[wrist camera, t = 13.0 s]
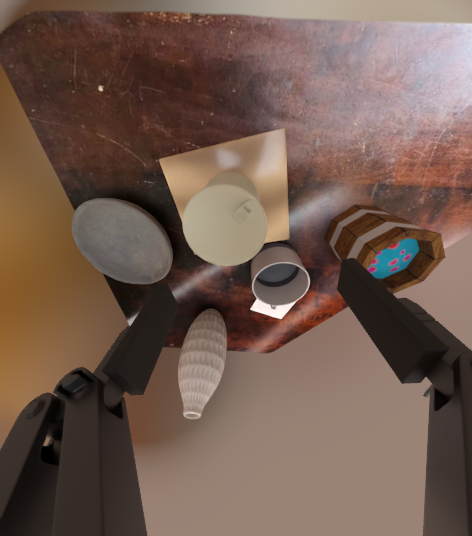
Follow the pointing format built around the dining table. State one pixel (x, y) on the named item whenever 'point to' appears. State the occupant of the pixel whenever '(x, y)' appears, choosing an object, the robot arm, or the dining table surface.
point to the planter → (278, 275)
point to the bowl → (122, 240)
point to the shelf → (241, 161)
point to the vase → (202, 361)
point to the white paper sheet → (271, 309)
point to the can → (226, 220)
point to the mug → (385, 246)
